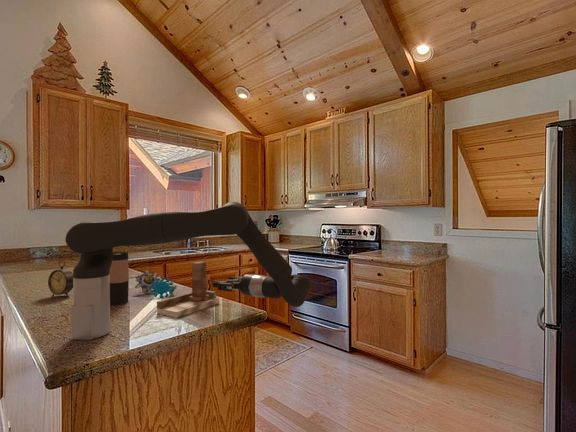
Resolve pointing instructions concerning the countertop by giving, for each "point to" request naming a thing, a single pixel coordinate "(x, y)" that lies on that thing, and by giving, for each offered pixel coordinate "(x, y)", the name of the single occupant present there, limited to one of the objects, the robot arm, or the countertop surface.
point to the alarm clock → (61, 281)
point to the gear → (162, 288)
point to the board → (184, 304)
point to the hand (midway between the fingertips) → (221, 281)
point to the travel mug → (119, 278)
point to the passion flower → (146, 281)
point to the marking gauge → (198, 282)
